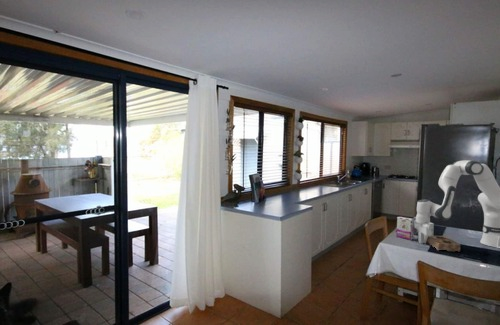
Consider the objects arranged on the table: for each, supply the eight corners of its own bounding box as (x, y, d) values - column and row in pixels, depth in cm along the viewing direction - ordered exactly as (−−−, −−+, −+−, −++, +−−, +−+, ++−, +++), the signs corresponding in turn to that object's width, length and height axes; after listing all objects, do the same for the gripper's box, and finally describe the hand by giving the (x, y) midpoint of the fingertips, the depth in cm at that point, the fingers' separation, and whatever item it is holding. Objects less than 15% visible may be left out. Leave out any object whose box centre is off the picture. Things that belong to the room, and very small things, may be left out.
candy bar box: (413, 239, 210) (414, 219, 209) (410, 240, 207) (411, 220, 206) (398, 235, 219) (399, 216, 218) (396, 236, 216) (396, 217, 215)
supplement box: (427, 239, 209) (428, 224, 208) (418, 236, 215) (418, 221, 215) (433, 238, 211) (434, 223, 211) (424, 235, 218) (425, 220, 217)
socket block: (445, 242, 203) (446, 235, 202) (459, 251, 185) (460, 244, 185) (425, 241, 205) (426, 234, 205) (438, 250, 188) (438, 243, 187)
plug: (423, 241, 205) (424, 229, 204) (426, 243, 201) (426, 231, 200) (418, 241, 205) (418, 229, 205) (420, 243, 201) (420, 231, 201)
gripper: (434, 224, 191) (433, 243, 192) (421, 217, 211) (420, 233, 212) (425, 224, 192) (424, 242, 193) (412, 216, 212) (412, 233, 213)
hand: (422, 237), depth 203 cm, fingers open, 8 cm apart
